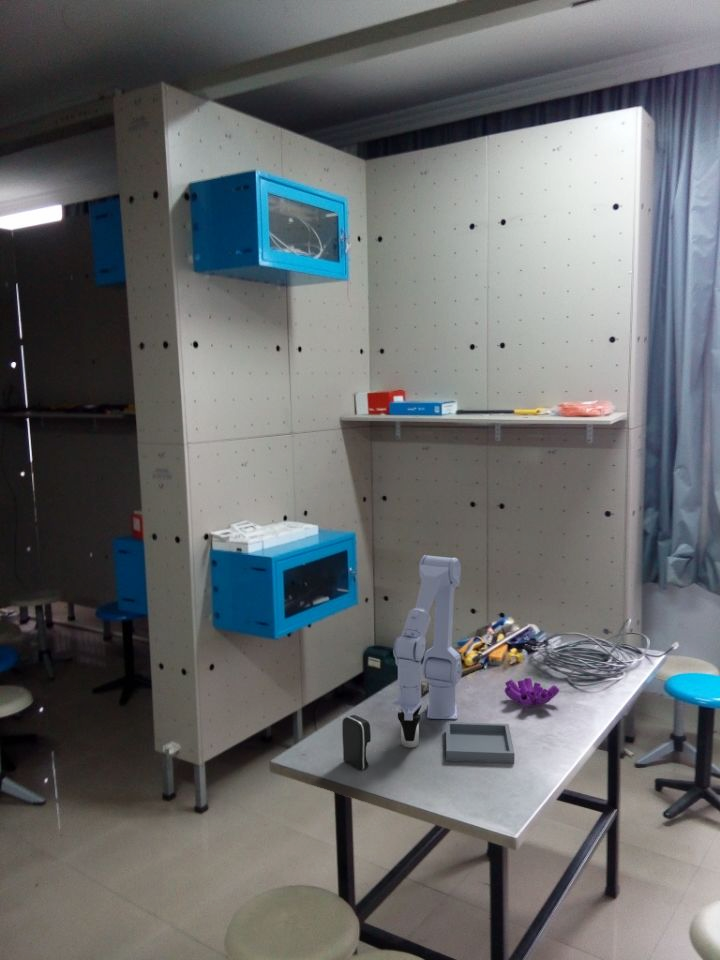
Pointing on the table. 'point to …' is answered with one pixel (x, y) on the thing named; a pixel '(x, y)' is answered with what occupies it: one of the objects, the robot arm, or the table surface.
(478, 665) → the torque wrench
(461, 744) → the tray
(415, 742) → the cylinder
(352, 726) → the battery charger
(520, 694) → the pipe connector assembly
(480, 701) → the table surface
